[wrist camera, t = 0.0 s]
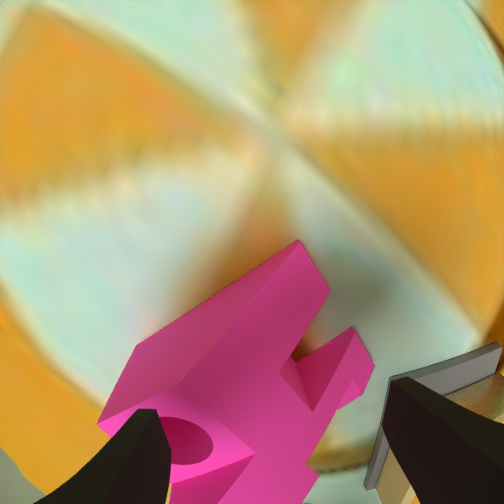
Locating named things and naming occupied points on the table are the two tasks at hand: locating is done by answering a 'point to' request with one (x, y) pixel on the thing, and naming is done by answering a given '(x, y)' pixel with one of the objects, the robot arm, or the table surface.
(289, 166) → the table surface
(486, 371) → the hinge mount
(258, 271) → the bracket
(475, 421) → the robot arm
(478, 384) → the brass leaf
